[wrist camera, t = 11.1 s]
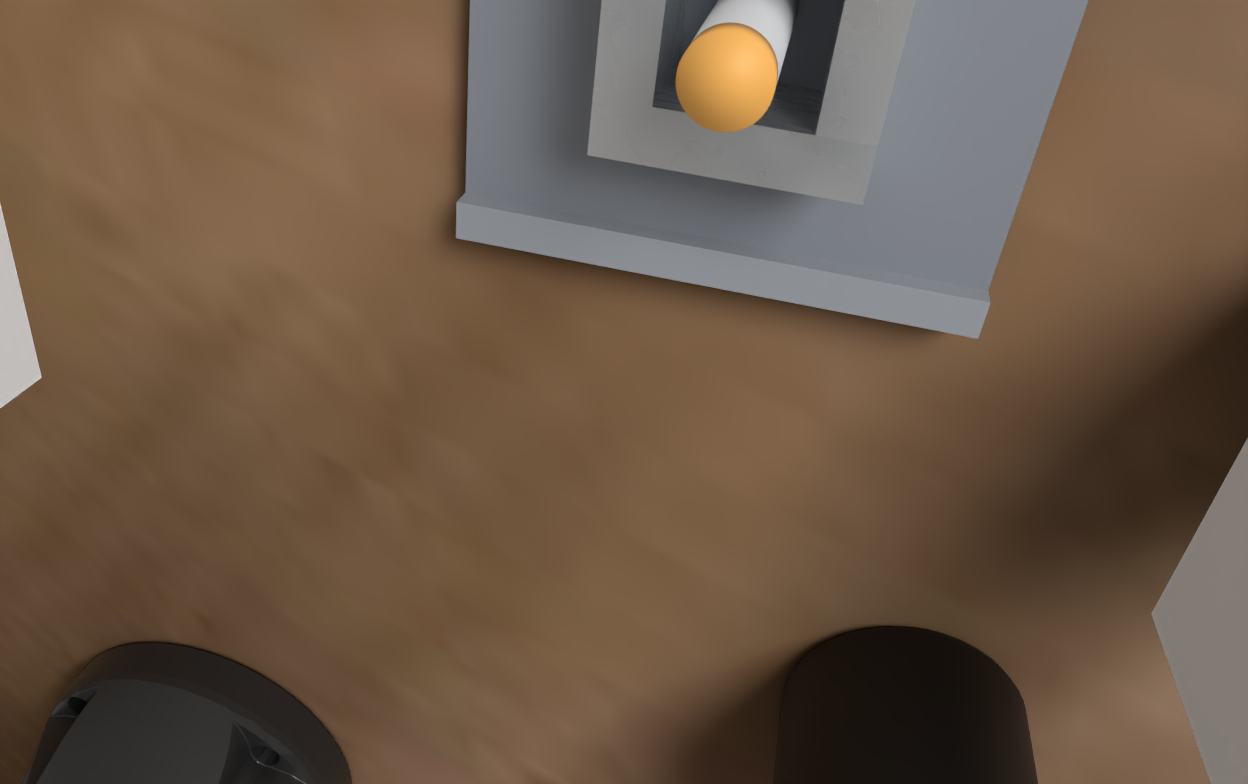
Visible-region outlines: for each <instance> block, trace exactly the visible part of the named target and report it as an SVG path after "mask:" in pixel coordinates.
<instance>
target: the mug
mask: <svg viewBox="0 0 1248 784" xmlns="http://www.w3.org/2000/svg"><path fill="white" fill-rule="evenodd" d="M773 784H1038V780H1037V774H1036V768H1035V762H1034V756H1033V750H1032V744H1031V738H1030V732H1029V726H1028V720H1027V714H1026V709H1025V705H1024V702H1023V699H1022V697H1021V695H1020V692H1019V690H1018V689H1017V687H1016V686H1015V684H1014V683H1013V682H1012V680H1011V679H1010V678H1009V676H1008V675H1007V674H1006V673H1005V672H1004V670H1003V669H1002V668H1001V667H1000V666H999V665H998V664H997V663H996V662H995V661H994V660H992V659H991V658H990V657H988V656H987V655H985V654H984V653H983V652H981V651H980V650H978V649H976V648H974V647H972V646H971V645H969V644H967V643H965V642H963V641H960V640H958V639H955V638H953V637H950V636H947V635H944V634H941V633H937V632H933V631H929V630H923V629H916V628H908V627H878V628H869V629H863V630H858V631H853V632H849V633H846V634H843V635H841V636H838V637H835V638H833V639H830V640H828V641H827V642H825V643H823V644H821V645H819V646H817V647H816V648H815V649H813V650H812V651H811V652H809V653H808V654H807V655H806V656H805V657H804V658H803V659H802V660H801V661H800V662H799V663H798V664H797V665H796V667H795V668H794V669H793V671H792V672H791V674H790V676H789V677H788V679H787V681H786V683H785V686H784V688H783V691H782V696H781V706H780V717H779V727H778V738H777V749H776V759H775V770H774V781H773Z"/></svg>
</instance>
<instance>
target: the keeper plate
mask: <svg viewBox="0 0 1248 784" xmlns="http://www.w3.org/2000/svg"><path fill="white" fill-rule="evenodd" d="M841 1H842V0H687V6H686V14H685V21H684V28H683V35H682V43H681V50H680V57H679V64H678V68H677V73H676V91H677V95H678V98H679V101H680V103H681V106H682V107H683V109H684V110H685V112H686V113H687V114H688V116H689V117H690V118H691V119H692V120H693V121H695V122H696V123H697V124H699V125H700V126H702V127H704V128H706V129H709V130H712V131H716V132H735V131H739V130H742V129H745V128H747V127H749V126H751V125H752V124H754V123H755V122H756V121H758V120H759V119H760V118H761V117H762V116H763V115H764V113H765V112H766V111H767V109H768V107H769V106H770V104H771V101H772V99H773V96H774V92H775V89H776V85H777V83H782V84H787V85H793V86H799V87H805V88H811V89H817V90H822V88H823V83H824V79H825V74H826V70H827V65H828V60H829V56H830V51H831V47H832V42H833V38H834V33H835V28H836V24H837V19H838V15H839V10H840V6H841ZM601 3H602V0H470V20H469V62H468V103H467V145H466V186H465V193H464V195H463V196H462V197H461V198H460V199H459V200H458V201H457V205H456V238H458V239H463V240H469V241H474V242H479V243H484V244H489V245H494V246H500V247H505V248H510V249H515V250H520V251H526V252H531V253H536V254H541V255H546V256H552V257H557V258H562V259H567V260H572V261H577V262H583V263H588V264H593V265H598V266H603V267H609V268H614V269H619V270H624V271H629V272H635V273H640V274H645V275H650V276H655V277H661V278H666V279H671V280H676V281H681V282H686V283H692V284H697V285H702V286H707V287H712V288H718V289H723V290H728V291H733V292H738V293H744V294H749V295H754V296H759V297H764V298H770V299H775V300H780V301H785V302H790V303H795V304H801V305H806V306H811V307H816V308H821V309H827V310H832V311H837V312H842V313H847V314H853V315H858V316H863V317H868V318H873V319H879V320H884V321H889V322H894V323H899V324H904V325H910V326H915V327H920V328H925V329H930V330H936V331H941V332H946V333H951V334H956V335H962V336H967V337H972V338H977V339H978V338H979V335H980V332H981V329H982V326H983V324H984V321H985V318H986V315H987V312H988V309H989V307H990V304H991V301H990V297H989V292H988V289H989V286H990V284H991V281H992V278H993V275H994V272H995V269H996V266H997V263H998V260H999V258H1000V255H1001V252H1002V249H1003V246H1004V243H1005V240H1006V237H1007V234H1008V232H1009V229H1010V226H1011V223H1012V220H1013V217H1014V214H1015V211H1016V208H1017V206H1018V203H1019V200H1020V197H1021V194H1022V191H1023V188H1024V185H1025V182H1026V180H1027V177H1028V174H1029V171H1030V168H1031V165H1032V162H1033V159H1034V156H1035V154H1036V151H1037V148H1038V145H1039V142H1040V139H1041V136H1042V133H1043V130H1044V128H1045V125H1046V122H1047V119H1048V116H1049V113H1050V110H1051V107H1052V104H1053V102H1054V99H1055V96H1056V93H1057V90H1058V87H1059V84H1060V81H1061V78H1062V76H1063V73H1064V70H1065V67H1066V64H1067V61H1068V58H1069V55H1070V52H1071V50H1072V47H1073V44H1074V41H1075V38H1076V35H1077V32H1078V29H1079V26H1080V24H1081V21H1082V18H1083V15H1084V12H1085V9H1086V6H1087V3H1088V0H916V1H915V5H914V9H913V13H912V17H911V21H910V24H909V28H908V32H907V36H906V40H905V44H904V48H903V52H902V55H901V59H900V63H899V67H898V71H897V75H896V79H895V83H894V87H893V90H892V94H891V98H890V102H889V106H888V110H887V114H886V118H885V122H884V125H883V129H882V133H881V137H880V141H879V145H878V149H877V153H876V156H875V160H874V164H873V168H872V172H871V176H870V180H869V184H868V188H867V191H866V195H865V199H864V203H863V205H859V204H854V203H848V202H843V201H837V200H832V199H826V198H821V197H815V196H810V195H804V194H799V193H793V192H788V191H782V190H777V189H771V188H766V187H760V186H755V185H749V184H743V183H738V182H732V181H727V180H721V179H716V178H710V177H705V176H699V175H694V174H688V173H683V172H677V171H672V170H666V169H661V168H655V167H650V166H644V165H639V164H633V163H628V162H622V161H617V160H611V159H606V158H600V157H595V156H589V155H587V152H588V142H589V131H590V120H591V110H592V99H593V88H594V78H595V67H596V56H597V46H598V35H599V24H600V14H601Z"/></svg>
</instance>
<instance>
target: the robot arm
mask: <svg viewBox="0 0 1248 784" xmlns="http://www.w3.org/2000/svg"><path fill="white" fill-rule="evenodd" d="M41 378H42V376H41V372H40V368H39V364H38V360H37V355H36V351H35V347H34V343H33V339H32V334H31V330H30V326H29V322H28V318H27V314H26V309H25V305H24V301H23V297H22V293H21V288H20V284H19V280H18V276H17V272H16V267H15V263H14V259H13V255H12V251H11V247H10V242H9V238H8V234H7V230H6V226H5V221H4V217H3V213H2V209H1V205H0V408H1V407H3V406H4V405H5V404H7V403H8V402H9V401H11V400H12V399H14V398H15V397H16V396H18V395H19V394H20V393H22V392H23V391H24V390H26V389H27V388H28V387H30V386H31V385H32V384H34V383H35V382H36V381H38V380H39V379H41ZM1151 615H1152V618H1153V621H1154V623H1155V626H1156V629H1157V632H1158V635H1159V638H1160V640H1161V643H1162V646H1163V649H1164V652H1165V655H1166V657H1167V660H1168V663H1169V666H1170V669H1171V672H1172V675H1173V677H1174V680H1175V683H1176V686H1177V689H1178V692H1179V694H1180V697H1181V700H1182V703H1183V706H1184V709H1185V711H1186V714H1187V717H1188V720H1189V723H1190V726H1191V728H1192V731H1193V734H1194V737H1195V740H1196V743H1197V745H1198V748H1199V751H1200V754H1201V757H1202V760H1203V763H1204V765H1205V768H1206V771H1207V774H1208V777H1209V780H1210V782H1211V784H1248V438H1247V440H1246V442H1245V444H1244V445H1243V447H1242V449H1241V451H1240V453H1239V454H1238V456H1237V458H1236V460H1235V462H1234V464H1233V465H1232V467H1231V469H1230V471H1229V473H1228V475H1227V476H1226V478H1225V480H1224V482H1223V484H1222V485H1221V487H1220V489H1219V491H1218V493H1217V495H1216V496H1215V498H1214V500H1213V502H1212V504H1211V506H1210V507H1209V509H1208V511H1207V513H1206V515H1205V516H1204V518H1203V520H1202V522H1201V524H1200V526H1199V527H1198V529H1197V531H1196V533H1195V535H1194V537H1193V538H1192V540H1191V542H1190V544H1189V546H1188V547H1187V549H1186V551H1185V553H1184V555H1183V557H1182V558H1181V560H1180V562H1179V564H1178V566H1177V568H1176V569H1175V571H1174V573H1173V575H1172V577H1171V579H1170V580H1169V582H1168V584H1167V586H1166V588H1165V589H1164V591H1163V593H1162V595H1161V597H1160V599H1159V600H1158V602H1157V604H1156V606H1155V608H1154V610H1153V611H1152V613H1151ZM22 784H352V780H351V776H350V772H349V768H348V765H347V763H346V761H345V758H344V756H343V754H342V752H341V750H340V749H339V747H338V745H337V744H336V742H335V741H334V739H333V738H332V736H331V735H330V734H329V732H328V731H327V730H326V729H325V727H324V726H323V725H322V724H321V723H320V722H319V721H318V720H317V718H316V717H315V716H314V715H313V714H312V713H311V712H310V711H308V710H307V709H306V708H305V707H304V706H303V705H302V704H301V703H300V702H298V701H297V700H296V699H295V698H293V697H292V696H291V695H289V694H288V693H287V692H285V691H284V690H283V689H281V688H280V687H278V686H277V685H275V684H274V683H272V682H271V681H269V680H267V679H266V678H264V677H262V676H261V675H259V674H257V673H255V672H253V671H251V670H250V669H248V668H245V667H243V666H241V665H239V664H237V663H235V662H232V661H230V660H228V659H225V658H222V657H220V656H217V655H214V654H211V653H208V652H205V651H201V650H197V649H193V648H189V647H184V646H179V645H172V644H163V643H138V644H130V645H124V646H120V647H116V648H113V649H111V650H108V651H106V652H104V653H102V654H100V655H99V656H97V657H96V658H95V659H93V660H92V661H91V662H90V663H89V664H88V665H87V666H86V667H85V668H84V670H83V671H82V672H81V673H80V674H79V675H78V676H77V678H76V679H75V680H74V681H73V682H72V683H71V685H70V686H69V687H68V688H67V689H66V690H65V692H64V693H63V694H62V695H61V697H60V698H59V700H58V701H57V703H56V704H55V706H54V708H53V710H52V712H51V715H50V717H49V719H48V722H47V724H46V726H45V729H44V731H43V734H42V736H41V739H40V741H39V743H38V746H37V748H36V751H35V753H34V756H33V758H32V760H31V763H30V765H29V768H28V770H27V773H26V775H25V777H24V780H23V782H22Z"/></svg>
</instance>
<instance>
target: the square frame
mask: <svg viewBox="0 0 1248 784" xmlns="http://www.w3.org/2000/svg"><path fill="white" fill-rule="evenodd" d="M915 1H916V0H842V1H841V6H840V10H839V15H838V19H837V24H836V28H835V33H834V38H833V42H832V47H831V51H830V56H829V60H828V65H827V70H826V74H825V79H824V83H823V88H822V90H817V89H811V88H805V87H799V86H793V85H787V84H782V83H777V85H776V89H775V92H774V96H773V99H772V101H771V104H770V106H769V107H768V109H767V111H766V112H765V113H764V115H763V116H762V117H761V118H760V119H759V120H758V121H756V122H755V123H754V124H752V125H751V126H749V127H747V128H745V129H742V130H739V131H735V132H716V131H712V130H709V129H706V128H704V127H702V126H700V125H699V124H697V123H696V122H695V121H693V120H692V119H691V118H690V117H689V116H688V114H687V113H686V112H685V110H684V109H683V107H682V106H681V103H680V101H679V98H678V95H677V91H676V73H677V68H678V64H679V57H680V50H681V43H682V35H683V28H684V21H685V14H686V6H687V0H602V3H601V14H600V24H599V35H598V46H597V56H596V67H595V78H594V88H593V99H592V110H591V120H590V131H589V142H588V152H587V155H589V156H595V157H600V158H606V159H611V160H617V161H622V162H628V163H633V164H639V165H644V166H650V167H655V168H661V169H666V170H672V171H677V172H683V173H688V174H694V175H699V176H705V177H710V178H716V179H721V180H727V181H732V182H738V183H743V184H749V185H755V186H760V187H766V188H771V189H777V190H782V191H788V192H793V193H799V194H804V195H810V196H815V197H821V198H826V199H832V200H837V201H843V202H848V203H854V204H859V205H863V203H864V199H865V195H866V191H867V188H868V184H869V180H870V176H871V172H872V168H873V164H874V160H875V156H876V153H877V149H878V145H879V141H880V137H881V133H882V129H883V125H884V122H885V118H886V114H887V110H888V106H889V102H890V98H891V94H892V90H893V87H894V83H895V79H896V75H897V71H898V67H899V63H900V59H901V55H902V52H903V48H904V44H905V40H906V36H907V32H908V28H909V24H910V21H911V17H912V13H913V9H914V5H915Z"/></svg>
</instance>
